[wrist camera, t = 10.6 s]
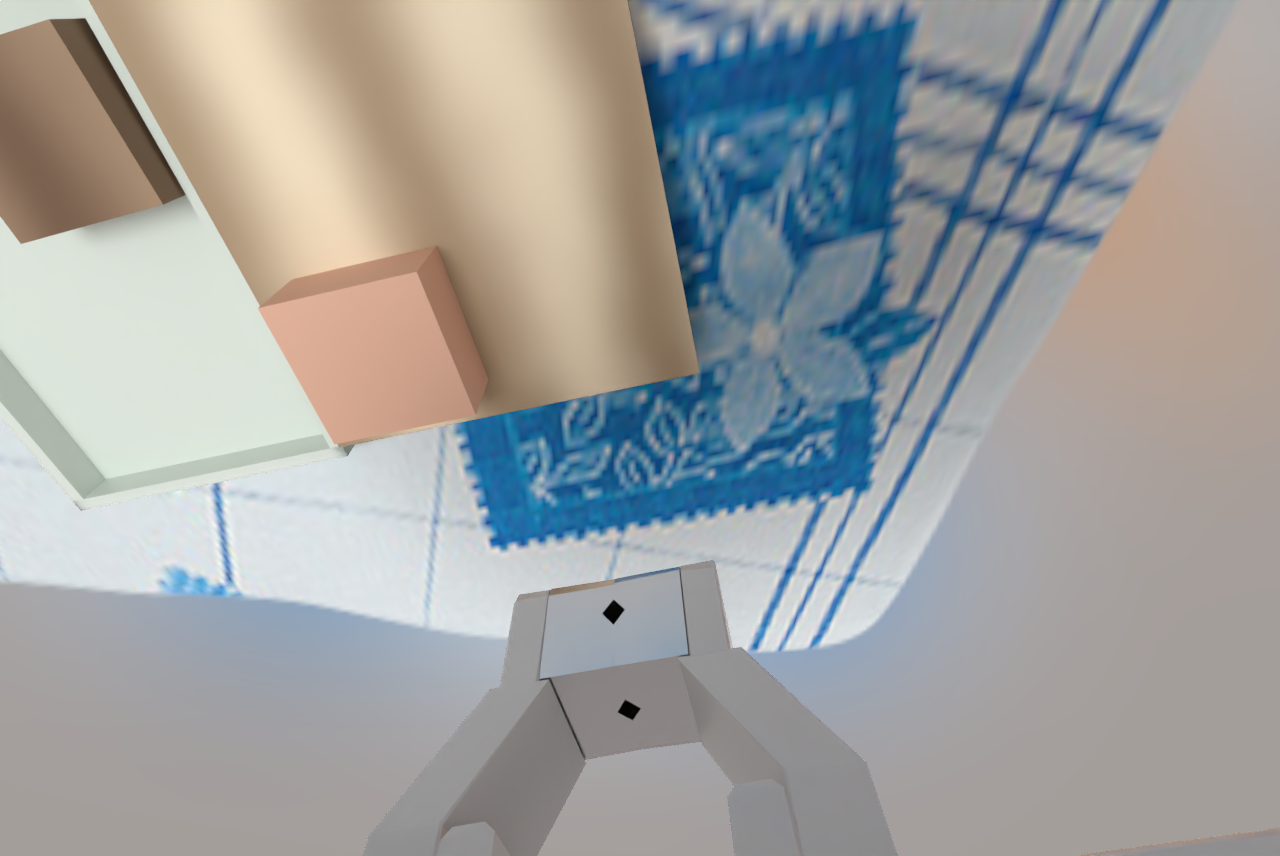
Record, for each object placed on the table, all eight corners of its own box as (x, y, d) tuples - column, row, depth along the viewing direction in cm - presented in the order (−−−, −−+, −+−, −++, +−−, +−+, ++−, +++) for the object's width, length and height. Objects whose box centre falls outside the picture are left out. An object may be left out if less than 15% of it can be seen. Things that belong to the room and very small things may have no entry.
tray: (91, -86, 19) (40, -95, 17) (363, 429, 29) (347, 455, 27) (-263, 19, 20) (-344, 21, 19) (111, 481, 30) (80, 510, 28)
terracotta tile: (436, 245, 21) (416, 271, 19) (488, 379, 24) (475, 415, 22) (292, 279, 22) (257, 308, 20) (358, 406, 25) (334, 444, 22)
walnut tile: (109, 17, 20) (48, 18, 18) (205, 186, 23) (163, 204, 20) (-36, 63, 21) (-110, 69, 18) (75, 222, 23) (20, 244, 21)
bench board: (590, -183, 18) (586, -213, 16) (692, 338, 27) (699, 373, 24) (129, -49, 20) (56, -58, 17) (364, 407, 28) (339, 447, 26)
